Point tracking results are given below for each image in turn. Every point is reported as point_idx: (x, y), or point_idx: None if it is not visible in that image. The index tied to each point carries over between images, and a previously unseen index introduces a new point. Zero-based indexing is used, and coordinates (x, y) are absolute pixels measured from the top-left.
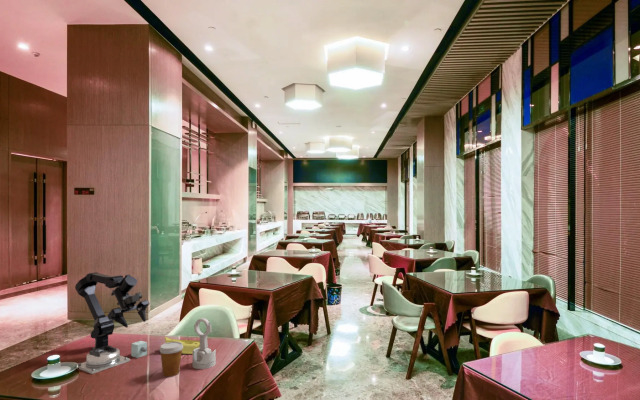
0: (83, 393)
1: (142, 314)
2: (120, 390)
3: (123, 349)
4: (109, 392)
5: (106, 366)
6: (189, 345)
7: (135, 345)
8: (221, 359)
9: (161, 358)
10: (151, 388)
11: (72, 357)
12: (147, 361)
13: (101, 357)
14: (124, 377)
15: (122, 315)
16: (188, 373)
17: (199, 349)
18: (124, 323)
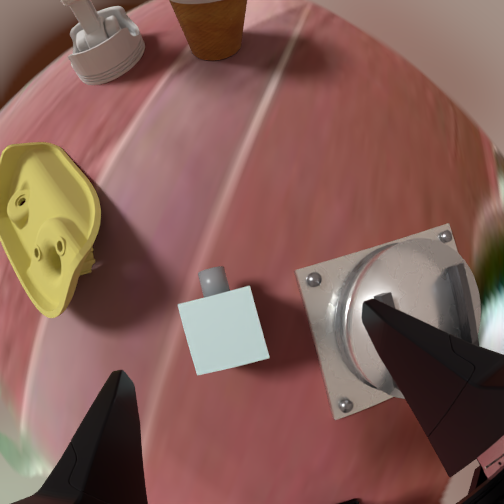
0: (448, 99)
1: (109, 463)
2: (367, 47)
3: (264, 467)
4: (392, 57)
5: (403, 240)
6: (44, 177)
7: (256, 311)
8: (62, 73)
9: (246, 3)
10: (296, 13)
11: (440, 470)
12: (229, 200)
13: (442, 247)
14: (351, 106)
15: (499, 377)
16: (179, 28)
17: (102, 27)
18: (414, 326)
